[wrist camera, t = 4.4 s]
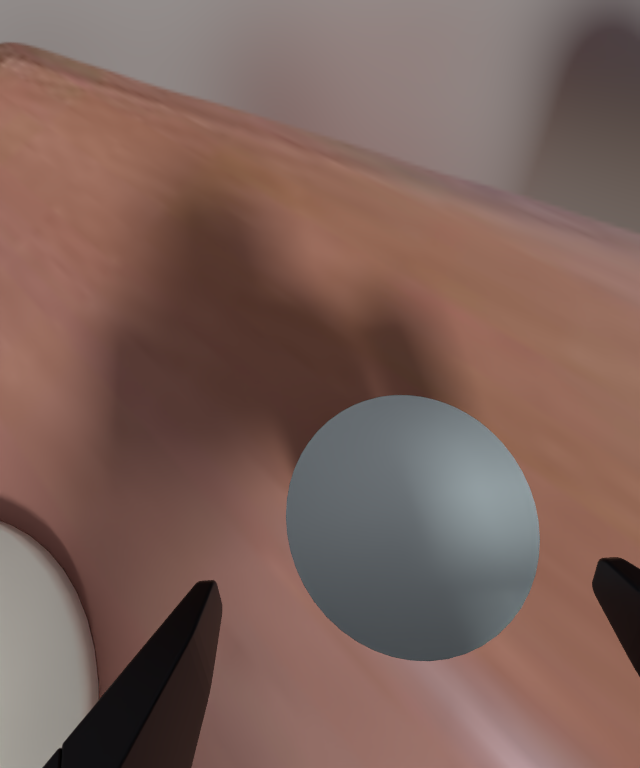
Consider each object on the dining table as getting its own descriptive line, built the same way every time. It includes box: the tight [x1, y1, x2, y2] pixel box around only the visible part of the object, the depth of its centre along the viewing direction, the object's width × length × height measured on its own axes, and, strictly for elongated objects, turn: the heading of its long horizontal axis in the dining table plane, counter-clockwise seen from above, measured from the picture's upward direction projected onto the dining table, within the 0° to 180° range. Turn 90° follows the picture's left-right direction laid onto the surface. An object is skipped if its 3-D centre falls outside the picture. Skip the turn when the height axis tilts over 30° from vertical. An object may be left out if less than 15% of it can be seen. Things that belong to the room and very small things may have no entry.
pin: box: [286, 395, 540, 661], centre depth 12 cm, size 5×5×11 cm
